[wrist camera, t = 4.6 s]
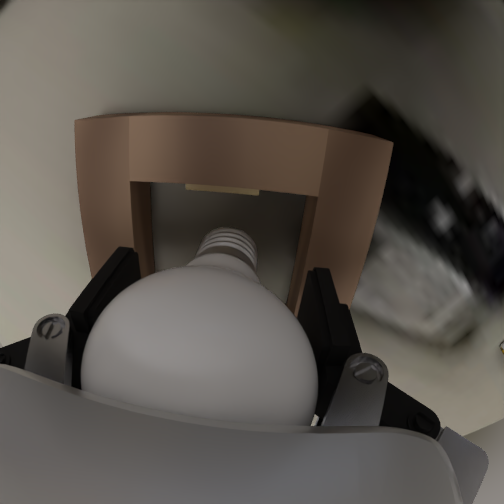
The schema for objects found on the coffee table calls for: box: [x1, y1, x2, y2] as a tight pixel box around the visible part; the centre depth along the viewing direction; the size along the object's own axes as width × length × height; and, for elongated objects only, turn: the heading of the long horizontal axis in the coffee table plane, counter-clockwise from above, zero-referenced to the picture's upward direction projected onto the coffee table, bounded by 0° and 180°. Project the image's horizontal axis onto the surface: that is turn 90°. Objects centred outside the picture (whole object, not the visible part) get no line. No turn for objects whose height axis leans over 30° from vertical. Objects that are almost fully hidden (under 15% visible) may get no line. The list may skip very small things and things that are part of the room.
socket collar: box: [75, 112, 393, 318], centre depth 14 cm, size 13×13×2 cm
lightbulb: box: [81, 227, 318, 426], centre depth 10 cm, size 6×6×11 cm
